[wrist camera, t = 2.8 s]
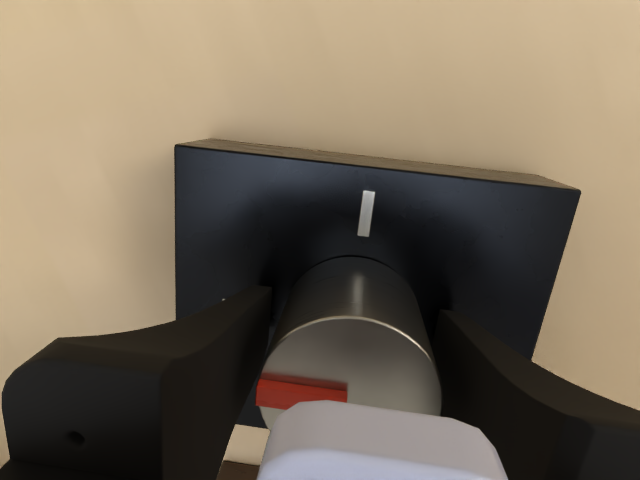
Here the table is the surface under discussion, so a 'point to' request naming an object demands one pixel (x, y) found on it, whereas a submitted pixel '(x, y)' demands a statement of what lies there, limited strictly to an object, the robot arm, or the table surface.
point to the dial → (350, 343)
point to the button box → (237, 471)
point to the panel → (368, 232)
